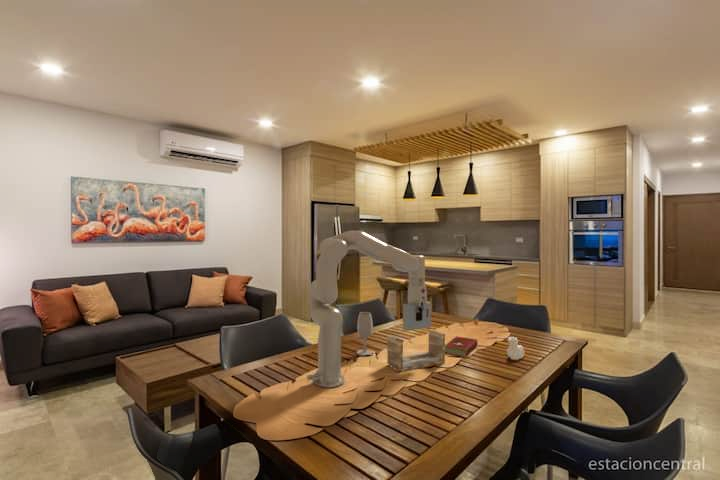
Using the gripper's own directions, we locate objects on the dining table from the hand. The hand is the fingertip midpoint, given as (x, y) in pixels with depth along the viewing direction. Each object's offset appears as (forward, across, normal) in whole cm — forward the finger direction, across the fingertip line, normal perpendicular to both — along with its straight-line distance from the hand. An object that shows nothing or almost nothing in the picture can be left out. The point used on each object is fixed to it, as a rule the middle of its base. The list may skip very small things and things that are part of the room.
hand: (416, 319), depth 178 cm
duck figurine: (+22, -15, -49) cm, 55 cm away
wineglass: (+21, +24, +15) cm, 36 cm away
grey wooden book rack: (+21, 0, 0) cm, 21 cm away
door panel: (+4, 0, 0) cm, 4 cm away
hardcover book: (+22, +8, -34) cm, 42 cm away
